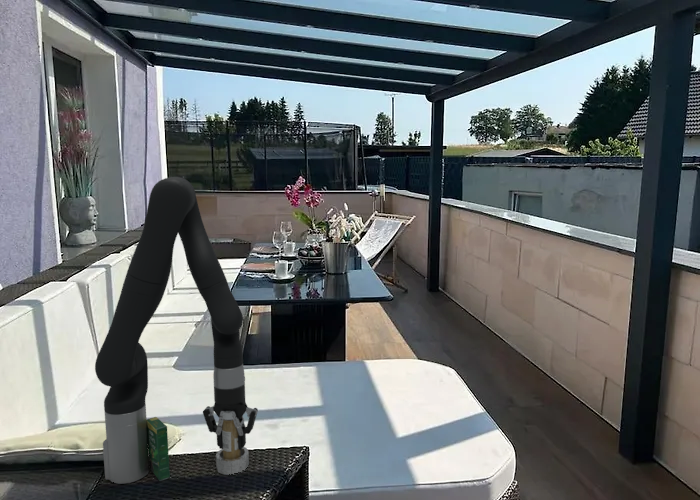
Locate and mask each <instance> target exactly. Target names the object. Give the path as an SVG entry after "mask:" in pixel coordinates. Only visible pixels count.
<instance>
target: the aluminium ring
mask: <svg viewBox="0 0 700 500" xmlns="http://www.w3.org/2000/svg"><path fill="white" fill-rule="evenodd" d="M249 452H250V451H249V450H248V447H245V446H244V447H243V448H242V450H240V453H241V457H239V458H236V459H232V460H229V459H223V457H224V456H223V449H218V451H217V453H216V454H215V461H216V462H215V464H216V471H217V472H218V473H220V474H222V475H227V476H228V475H229V474H230V475H229V476H232V475H231V474H233V475H235V474H234V473H238V472H241V471H242V470H244V471H246V470H247V469H248V468H249V466H250V455H249ZM248 465H249V466H248ZM247 467H248V468H247ZM246 468H247V469H246ZM245 469H246V470H245ZM241 473H242V472H241ZM238 474H239V473H238Z"/></svg>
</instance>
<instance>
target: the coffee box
mask: <svg viewBox="0 0 700 500" xmlns="http://www.w3.org/2000/svg"><path fill="white" fill-rule="evenodd" d="M146 419H147V418H146ZM147 436H148V453H149V470H150V471H151V472H152V474H153V475H154V476H155V478H156V479H157V480H158V481H159V482H162V481H165V480H167V479H169V478H170V477H171V475H170V473H171V472H170V457H169V455H170V454H169V439H168V438H169V437H168V426H167V425H166V424H165V423H164V422H163V421H161V419H159V418H158V417H157V416H154V417H151V418H148V419H147Z"/></svg>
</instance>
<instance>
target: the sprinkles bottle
mask: <svg viewBox="0 0 700 500" xmlns="http://www.w3.org/2000/svg"><path fill="white" fill-rule="evenodd" d="M222 419H224V420H223V426H222V441H223V456H224V457H223V459H229V460H232V459H236V458H239V457H241V453H240V450H239V449H238V435H239V433H238V431H237V428H236V427H235V424H234V422H233V421H234V420H233V419H234V418H233V417H232V413H231V411H225V413H223V417H222Z"/></svg>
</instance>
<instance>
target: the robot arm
mask: <svg viewBox="0 0 700 500" xmlns="http://www.w3.org/2000/svg"><path fill="white" fill-rule="evenodd" d="M199 207H200V206H199V203H198V200H197V196H196V190H195V188H194V186H193V185H192V183H191V182H190V181H188V180H187V179H185V178H183V177H181V176H169V177H165V178H163V179H161V180H159V181H157V182H156V183H155V184H154V185H153V187H152V188H151V191H150V195H149V200H148V203H147V210H146V215H145V219H144V224H143V229H142V232H141V235H140V238H139V240H138V242H137V245H136V247H135V249H134V252H133V255H132V258H131V261H130V263H129V266H128V269H127V271H126V274H125V276H124V277H125V278H124V279H123V280H124V281H123V284H122V288H121V291H120V295H119V298H118V301H117V304H116V308H115V311H114V315H113V318H112V321H111V323H110V327H109V328H108V329H109V330H108V332H107V334H106V336H105V339H104V342H103V343H102V345H101V347H100V350H99V352H98V355H97V356H96V359H95V365H94V371H95V374H96V377H97V379H98V380H99V382H100V383H101V384H103V385H104V386H107V387H109V390H108V392H107V394H106V396H105V397H104V400H103V409H104V423H105V438H106V439H105V440H103V442H102V452H103V453H102V454H103V464H104V467H103V468H104V479H105V480H109V481H110V482H112V483H113V482H114V484H119V485H121V484H130V483H133V482H137V481H139V480H141V479H143V478H144V477H146V476H147V475H148V474H149V472H150V466H149V451H148V436H147V407H146V397H147V395H148V394H147V393H148V387H149V371H148V370H149V369H148V367H149V366H148V357H147V352H146V350H145V348H144V346H143V345H142V344H141V342H140V340H141V336H142V334H143V332H144V330H145V328H146V327H147V326H148V323H150V320H151V319H152V318H153V316H154V314H155V313H156V311H157V309H158V308H159V306H160V304H161V302H162V299H163V298H164V294H165V292H166V288H167V285H168V282H169V279H170V274H171V270H172V263H173V255H174V249H175V248H174V246H175V242H176V239H177V237H178V235H179V238H180V241H181V243H182V247H183V251H184V254H185V255H184V256H185V260H186V262H187V266H188V269H189V271H190V274H191V276H192V279H193V281H194V283H195V285H196V288H197V290H198V292H199V294H200V296H201V297H202V299H203V300H204V302H205V305H206V308H207V311H208V313H209V316H210V325H211V333H212V334H211V335H212V340H213V374H212V375H213V376H212V377H213V396H214V397H213V399H214V400H213V401H214V404H213V406H207V405H206V407H205V408H204V409H203V411H202V414H203V415H202V416H203V417H204V421H205V423H206V425H207V429H208V432H210V433H214V434H216V445H217V447H219V450H221V449H223V441H222V426H223V420H224V419H222V417H223V413H225V411H231V413H232V417H233V418H234V419H233V420H234V421H233V422H234V424H235V427H236V428H237V431H238V433H239V435H238V449H239V450H242V448H243V447H245V446H246V443H247V441H246V440H247V437H246V434H250V433H251V432H252V430H253V429H254V427H255V422H256V418H257V414H258V410H259V409H258V408H257V407H254V408H251V407H249V406H248V404H247V403H246V383H245V382H246V376H245V368H244V352H243V346H242V341H241V338H240V336H241V335H240V330H241V328H242V325H243V323H244V316H243V313H242V311H241V309H240V306H239V305H238V302H237V299H235V297H234V295H233V293H232V291H231V288H230V286H229V283H228V279H227V278H226V275H225V273H224V270H223V268H222V265H221V264H220V261H219V259H218V256H217V254H216V253H215V249H214V248H213V245H212V243H211V241H210V238H209V236H208V234H207V231H206V228H205V225H204V222H203V219H202V216H201V212H200V208H199ZM245 413H246V414H247V418H248V421H247V423H246V424H247V425H246V424H245V419H244V414H245ZM215 414H216V416H217V417H218V421H216V419H215V418H216V417H215V416H214V415H215Z"/></svg>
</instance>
